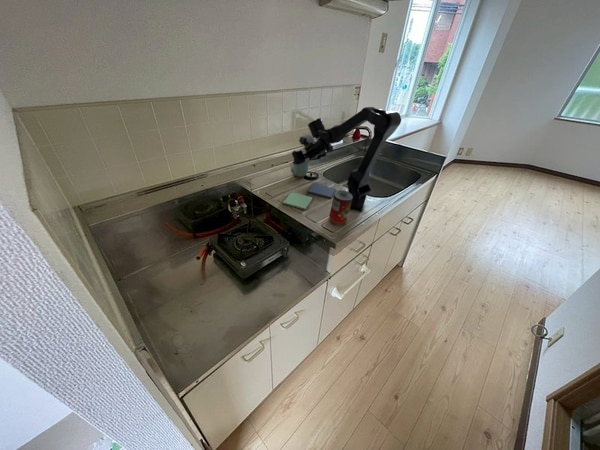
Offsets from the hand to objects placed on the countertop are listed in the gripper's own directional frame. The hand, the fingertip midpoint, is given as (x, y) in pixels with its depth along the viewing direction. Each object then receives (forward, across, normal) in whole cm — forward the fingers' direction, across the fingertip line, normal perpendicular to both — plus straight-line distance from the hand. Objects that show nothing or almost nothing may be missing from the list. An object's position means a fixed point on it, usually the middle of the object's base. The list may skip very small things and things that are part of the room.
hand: (300, 161), depth 121 cm
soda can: (-23, +15, +33) cm, 43 cm away
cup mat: (-9, +18, +19) cm, 28 cm away
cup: (+5, 0, +6) cm, 7 cm away
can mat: (-9, +3, +19) cm, 21 cm away
